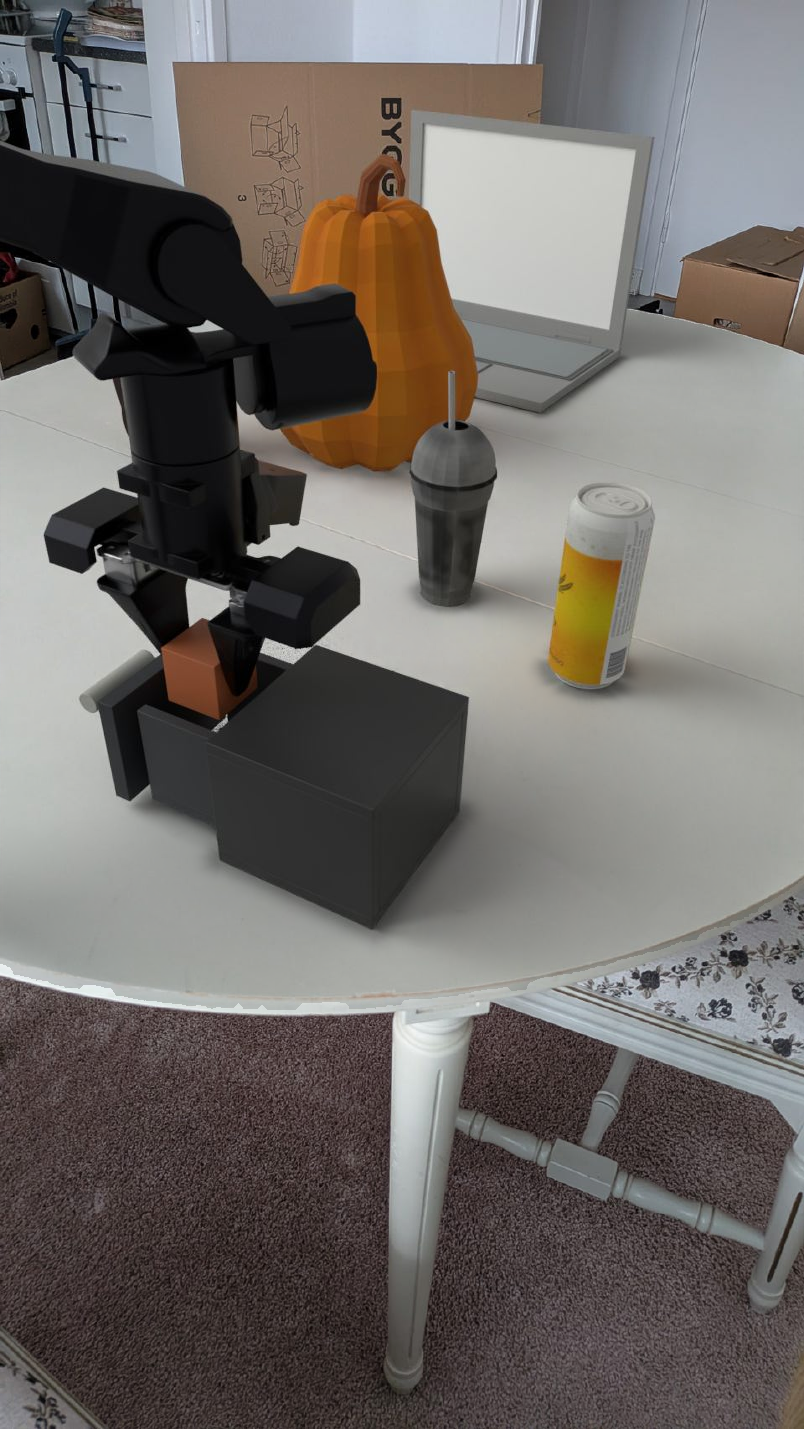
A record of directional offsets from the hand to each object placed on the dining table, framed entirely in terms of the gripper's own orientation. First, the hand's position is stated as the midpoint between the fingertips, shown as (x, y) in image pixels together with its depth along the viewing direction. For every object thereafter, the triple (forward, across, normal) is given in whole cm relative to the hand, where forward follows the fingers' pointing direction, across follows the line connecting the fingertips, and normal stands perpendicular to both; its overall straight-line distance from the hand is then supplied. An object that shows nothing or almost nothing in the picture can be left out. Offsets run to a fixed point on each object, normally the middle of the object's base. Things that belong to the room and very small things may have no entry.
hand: (211, 681), depth 63 cm
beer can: (+9, -16, -26) cm, 32 cm away
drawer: (+8, +2, 0) cm, 8 cm away
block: (+1, 0, 0) cm, 1 cm away
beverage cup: (+9, -2, -31) cm, 32 cm away
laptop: (+9, +24, -88) cm, 92 cm away
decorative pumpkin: (+9, +20, -54) cm, 59 cm away
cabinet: (+9, -10, 0) cm, 13 cm away
